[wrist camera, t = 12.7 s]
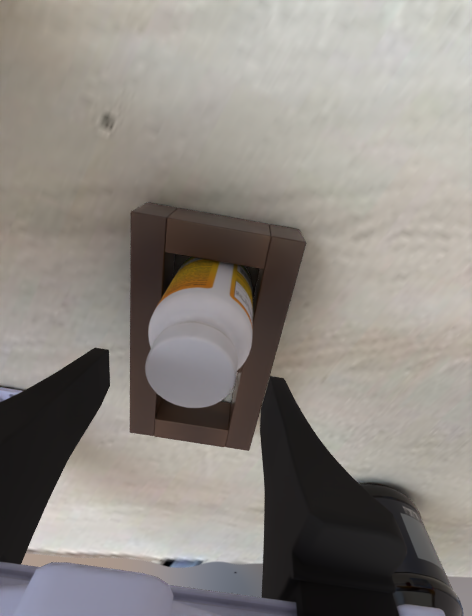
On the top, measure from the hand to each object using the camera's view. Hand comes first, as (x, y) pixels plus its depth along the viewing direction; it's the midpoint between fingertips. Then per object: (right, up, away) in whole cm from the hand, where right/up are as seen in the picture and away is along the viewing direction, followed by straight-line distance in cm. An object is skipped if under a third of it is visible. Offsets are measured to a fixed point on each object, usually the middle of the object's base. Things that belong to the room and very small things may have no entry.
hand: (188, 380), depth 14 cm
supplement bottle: (+1, +5, +8) cm, 10 cm away
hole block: (0, +1, +10) cm, 10 cm away
